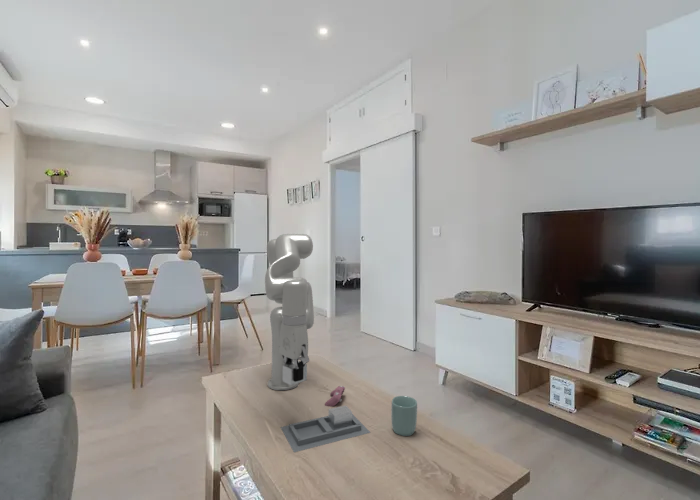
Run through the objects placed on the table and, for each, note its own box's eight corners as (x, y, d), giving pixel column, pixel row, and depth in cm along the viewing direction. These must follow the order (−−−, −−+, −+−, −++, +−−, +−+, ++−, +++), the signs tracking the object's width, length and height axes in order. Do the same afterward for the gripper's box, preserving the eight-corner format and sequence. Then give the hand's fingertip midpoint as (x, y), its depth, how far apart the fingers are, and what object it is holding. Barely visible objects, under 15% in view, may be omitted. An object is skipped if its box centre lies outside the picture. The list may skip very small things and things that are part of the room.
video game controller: (334, 414, 122) (343, 397, 121) (322, 407, 123) (332, 390, 122) (340, 401, 132) (348, 385, 131) (329, 394, 132) (338, 379, 131)
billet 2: (328, 424, 110) (328, 409, 110) (345, 420, 113) (345, 405, 112) (334, 432, 106) (334, 415, 106) (351, 427, 109) (352, 411, 108)
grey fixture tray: (280, 430, 108) (280, 422, 108) (350, 414, 119) (350, 407, 119) (293, 455, 96) (293, 446, 95) (370, 435, 106) (370, 427, 106)
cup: (418, 429, 110) (419, 398, 110) (414, 442, 103) (415, 409, 103) (393, 424, 113) (394, 394, 112) (388, 437, 105) (389, 404, 105)
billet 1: (282, 381, 110) (282, 365, 109) (298, 376, 114) (298, 360, 114) (290, 385, 106) (290, 369, 106) (306, 380, 110) (306, 364, 110)
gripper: (269, 317, 113) (269, 373, 113) (300, 326, 101) (299, 389, 101) (289, 314, 118) (288, 368, 118) (320, 322, 106) (320, 382, 106)
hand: (293, 377), depth 110 cm, fingers closed on billet 1, 4 cm apart
